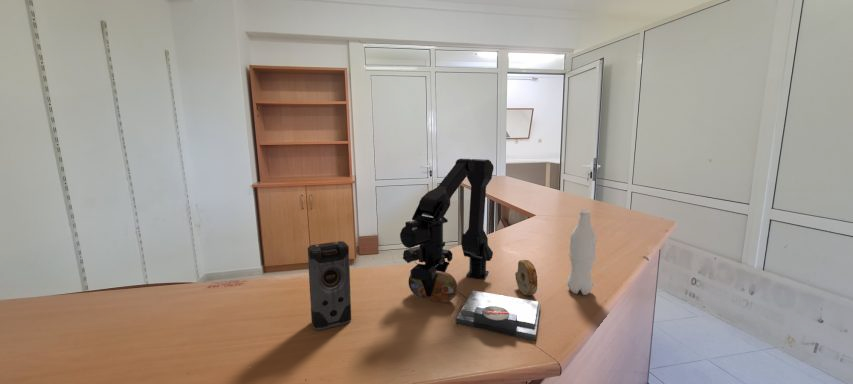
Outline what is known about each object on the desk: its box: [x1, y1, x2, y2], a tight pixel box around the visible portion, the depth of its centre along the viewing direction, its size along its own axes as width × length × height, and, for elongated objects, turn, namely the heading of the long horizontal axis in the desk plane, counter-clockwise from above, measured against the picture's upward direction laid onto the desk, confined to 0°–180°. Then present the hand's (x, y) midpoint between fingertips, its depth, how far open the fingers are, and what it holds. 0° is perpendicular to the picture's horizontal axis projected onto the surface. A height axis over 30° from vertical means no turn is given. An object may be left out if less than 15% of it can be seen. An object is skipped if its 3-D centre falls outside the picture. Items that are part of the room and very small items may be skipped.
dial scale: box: [455, 290, 541, 342], centre depth 85 cm, size 18×19×4 cm
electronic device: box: [307, 240, 352, 331], centre depth 82 cm, size 9×6×20 cm, turn 117°
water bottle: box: [566, 210, 597, 296], centre depth 99 cm, size 7×7×25 cm
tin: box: [408, 271, 458, 304], centre depth 96 cm, size 15×3×8 cm, turn 62°
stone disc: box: [514, 259, 538, 296], centre depth 99 cm, size 10×4×10 cm, turn 5°
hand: (432, 291), depth 96 cm, fingers open, 6 cm apart
